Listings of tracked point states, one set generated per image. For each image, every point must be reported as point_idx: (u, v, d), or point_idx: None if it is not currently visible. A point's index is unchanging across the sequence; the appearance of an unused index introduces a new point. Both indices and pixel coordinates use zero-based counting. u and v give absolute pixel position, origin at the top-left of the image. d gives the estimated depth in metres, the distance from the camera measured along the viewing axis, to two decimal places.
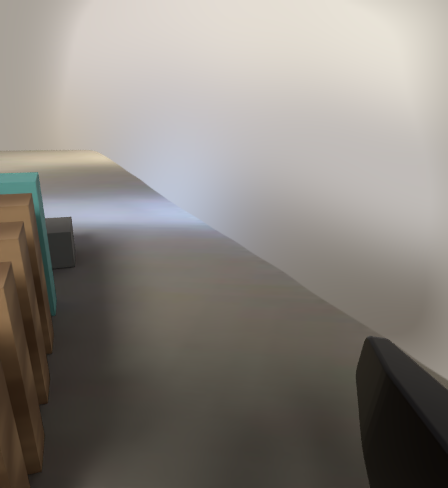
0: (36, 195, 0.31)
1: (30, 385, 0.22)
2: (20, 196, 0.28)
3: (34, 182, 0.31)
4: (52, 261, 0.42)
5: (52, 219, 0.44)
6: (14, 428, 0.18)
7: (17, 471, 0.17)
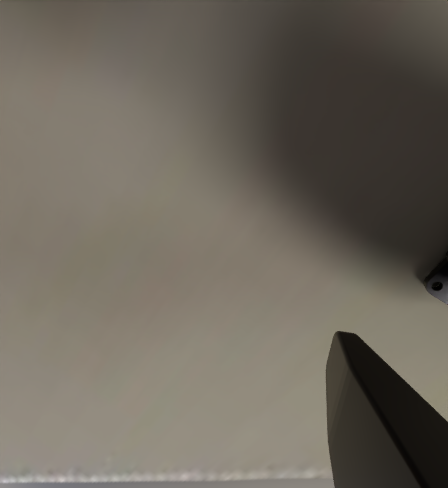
0: None
1: None
2: None
3: None
4: None
5: None
6: None
7: None
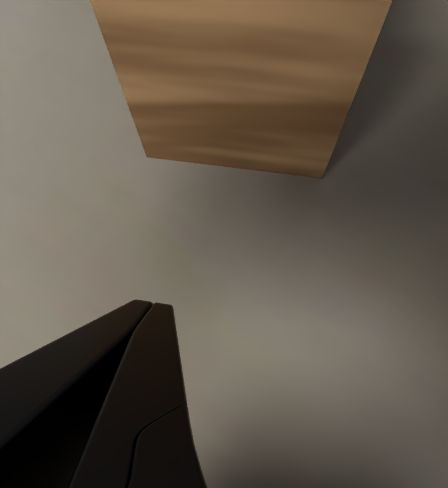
0: None
1: None
2: None
3: None
4: None
5: None
6: None
7: None
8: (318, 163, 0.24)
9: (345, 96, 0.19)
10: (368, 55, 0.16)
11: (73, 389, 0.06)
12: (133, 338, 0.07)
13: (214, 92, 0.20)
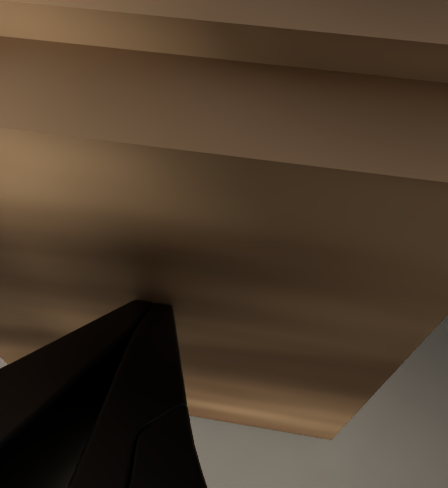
0: None
1: None
2: None
3: None
4: None
5: None
6: None
7: None
8: (326, 424, 0.13)
9: (390, 351, 0.09)
10: None
11: (73, 389, 0.06)
12: (133, 338, 0.07)
13: None
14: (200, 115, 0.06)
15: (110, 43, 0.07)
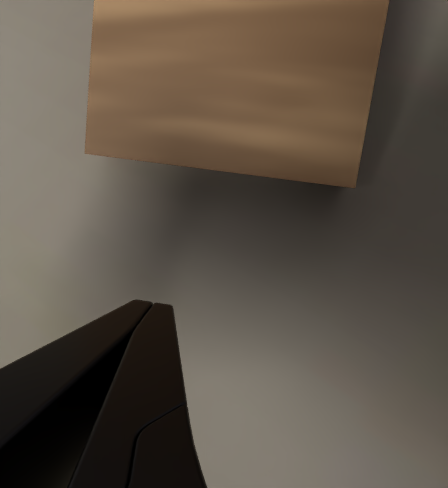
0: None
1: None
2: None
3: None
4: None
5: None
6: None
7: None
8: (348, 145, 0.16)
9: None
10: None
11: (73, 389, 0.06)
12: (133, 338, 0.07)
13: None
14: None
15: None
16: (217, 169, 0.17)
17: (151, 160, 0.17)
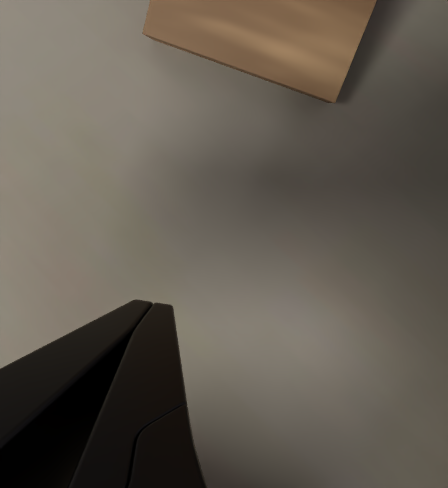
0: None
1: None
2: None
3: None
4: None
5: None
6: None
7: None
8: (338, 69, 0.22)
9: None
10: None
11: (73, 389, 0.06)
12: (133, 338, 0.07)
13: None
14: None
15: None
16: (240, 67, 0.22)
17: (192, 50, 0.22)
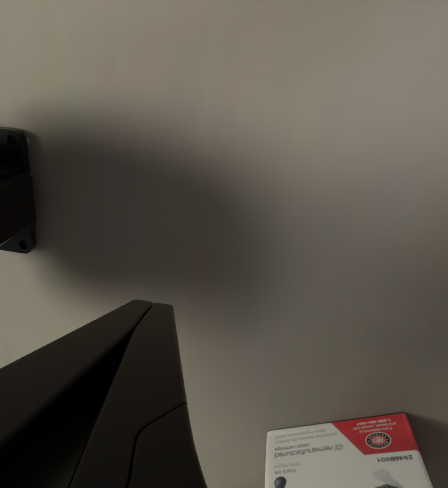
0: None
1: None
2: None
3: None
4: None
5: None
6: None
7: None
8: None
9: None
10: None
11: (73, 389, 0.06)
12: (133, 338, 0.07)
13: None
14: None
15: None
16: None
17: None
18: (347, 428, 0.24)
